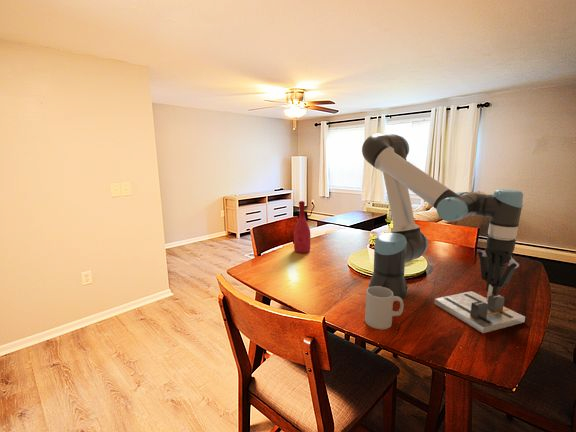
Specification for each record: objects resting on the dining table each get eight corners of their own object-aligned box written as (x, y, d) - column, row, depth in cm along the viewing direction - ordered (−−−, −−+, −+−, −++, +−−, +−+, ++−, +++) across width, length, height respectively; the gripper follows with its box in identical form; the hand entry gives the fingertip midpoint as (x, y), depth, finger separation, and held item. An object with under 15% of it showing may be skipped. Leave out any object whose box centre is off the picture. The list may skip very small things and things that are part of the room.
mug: (367, 329, 89) (368, 297, 87) (362, 314, 97) (364, 285, 95) (406, 330, 88) (408, 298, 86) (398, 315, 96) (400, 286, 94)
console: (482, 333, 86) (485, 313, 85) (434, 303, 104) (435, 286, 102) (524, 322, 91) (527, 303, 90) (471, 295, 109) (473, 279, 107)
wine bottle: (291, 249, 169) (290, 200, 163) (306, 247, 172) (306, 199, 166) (297, 254, 160) (296, 202, 154) (313, 252, 163) (313, 201, 156)
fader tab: (494, 311, 94) (495, 299, 93) (486, 307, 96) (488, 295, 95) (502, 309, 95) (504, 297, 94) (495, 306, 97) (497, 293, 96)
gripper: (530, 241, 87) (517, 309, 92) (491, 230, 98) (481, 291, 104) (513, 244, 85) (501, 313, 90) (475, 232, 96) (466, 295, 102)
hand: (490, 301), depth 97 cm, fingers closed
